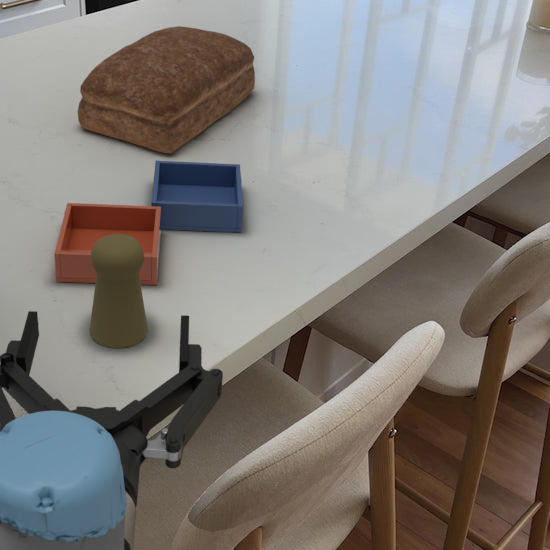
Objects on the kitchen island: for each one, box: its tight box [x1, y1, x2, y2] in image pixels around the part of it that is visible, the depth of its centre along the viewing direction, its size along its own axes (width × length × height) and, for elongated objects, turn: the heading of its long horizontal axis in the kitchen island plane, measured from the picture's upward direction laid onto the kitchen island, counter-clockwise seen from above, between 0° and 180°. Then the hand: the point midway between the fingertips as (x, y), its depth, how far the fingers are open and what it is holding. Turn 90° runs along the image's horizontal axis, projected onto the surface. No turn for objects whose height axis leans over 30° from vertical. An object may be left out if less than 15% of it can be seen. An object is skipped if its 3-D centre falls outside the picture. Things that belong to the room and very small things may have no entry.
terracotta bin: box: [53, 202, 162, 286], centre depth 103 cm, size 11×11×4 cm
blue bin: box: [150, 160, 244, 233], centre depth 114 cm, size 11×11×4 cm
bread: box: [77, 25, 256, 154], centre depth 136 cm, size 17×29×11 cm, turn 155°
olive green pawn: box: [89, 234, 149, 349], centre depth 90 cm, size 6×6×11 cm
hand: (110, 324), depth 81 cm, fingers open, 13 cm apart
